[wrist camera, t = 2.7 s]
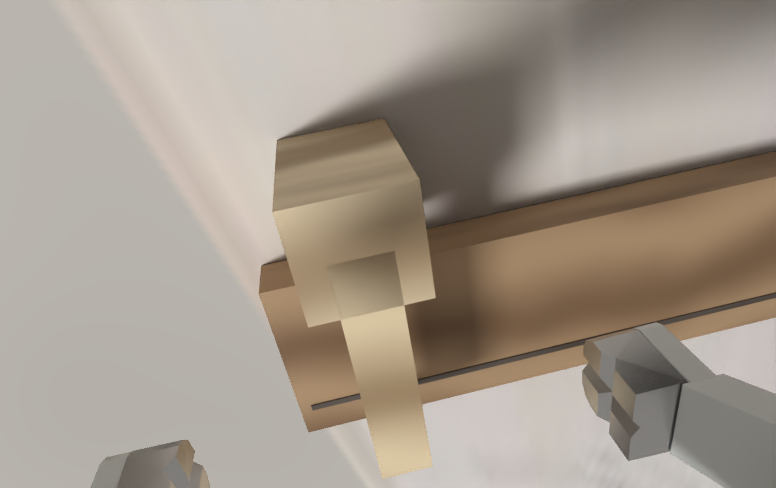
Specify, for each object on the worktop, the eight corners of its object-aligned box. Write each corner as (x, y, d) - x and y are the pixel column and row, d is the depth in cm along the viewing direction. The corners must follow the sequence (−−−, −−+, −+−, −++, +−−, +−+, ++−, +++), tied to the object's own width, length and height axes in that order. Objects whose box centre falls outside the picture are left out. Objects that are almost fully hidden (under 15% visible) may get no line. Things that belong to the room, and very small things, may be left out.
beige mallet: (276, 140, 18) (272, 212, 13) (383, 118, 19) (420, 180, 14) (342, 374, 25) (357, 485, 20) (422, 355, 25) (457, 459, 20)
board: (261, 265, 21) (258, 294, 19) (839, 136, 23) (886, 152, 21) (307, 399, 25) (308, 433, 23) (793, 281, 27) (829, 305, 25)
